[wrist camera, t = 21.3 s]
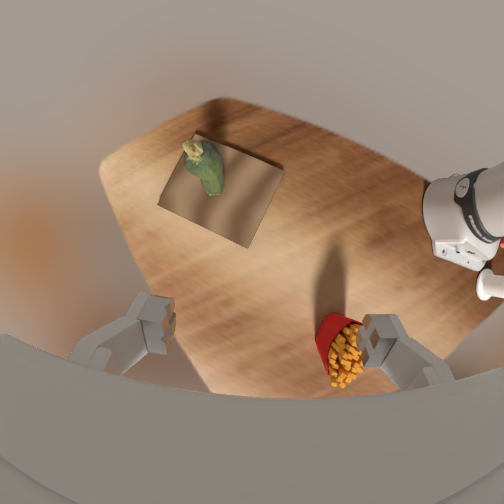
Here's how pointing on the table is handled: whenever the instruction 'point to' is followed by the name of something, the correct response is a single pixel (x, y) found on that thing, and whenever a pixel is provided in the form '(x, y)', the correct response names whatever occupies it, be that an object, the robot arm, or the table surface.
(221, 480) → the robot arm
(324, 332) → the french fries
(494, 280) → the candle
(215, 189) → the vegetable
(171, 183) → the cutting board
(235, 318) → the table surface
